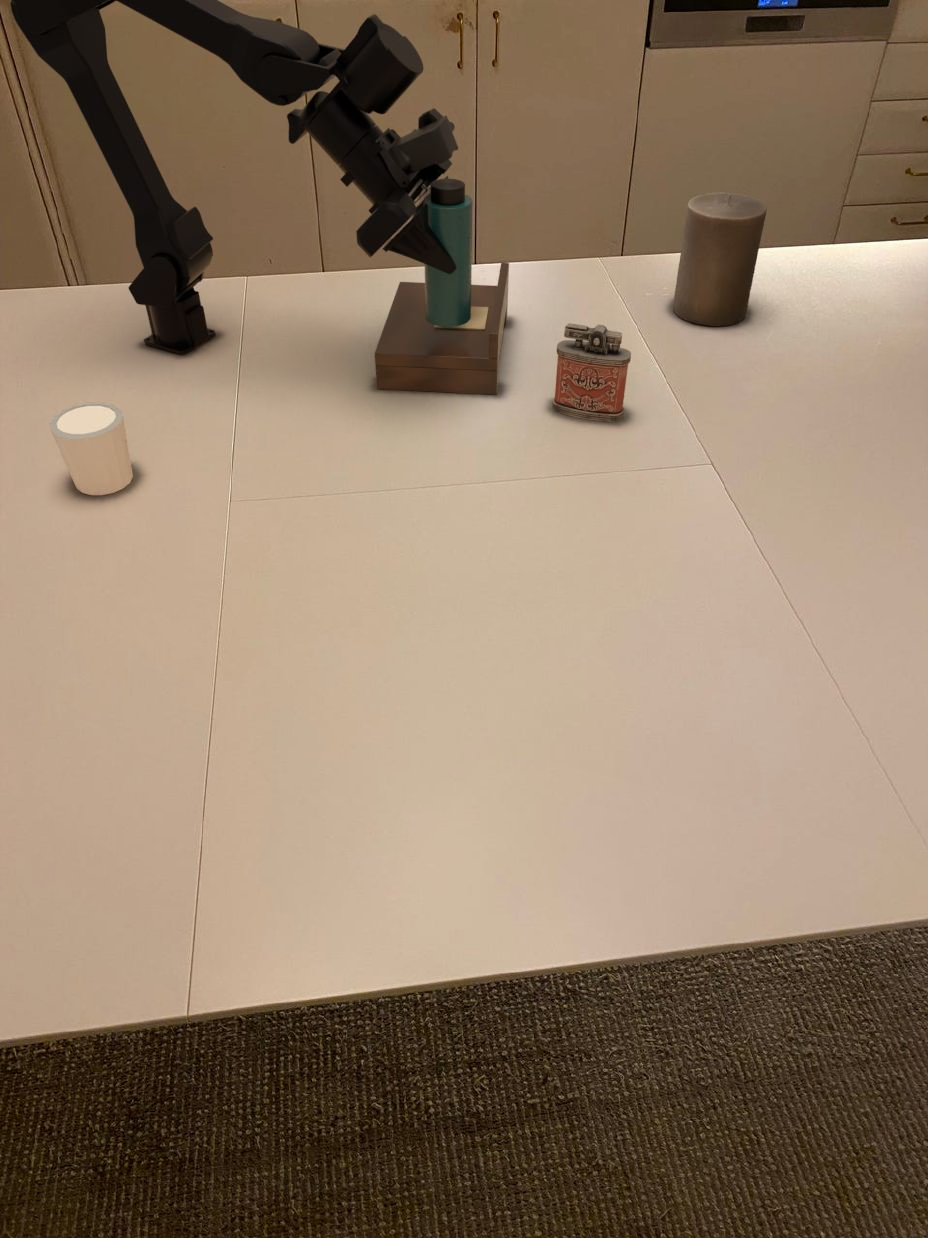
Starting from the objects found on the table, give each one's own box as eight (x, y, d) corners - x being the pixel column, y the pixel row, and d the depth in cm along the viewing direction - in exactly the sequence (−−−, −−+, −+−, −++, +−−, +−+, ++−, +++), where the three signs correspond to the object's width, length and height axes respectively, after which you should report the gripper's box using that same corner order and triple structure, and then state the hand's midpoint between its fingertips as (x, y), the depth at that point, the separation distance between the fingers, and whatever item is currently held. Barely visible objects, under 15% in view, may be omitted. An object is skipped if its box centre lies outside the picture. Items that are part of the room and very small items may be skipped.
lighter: (626, 410, 107) (637, 325, 101) (619, 424, 105) (630, 339, 98) (556, 398, 109) (563, 315, 102) (549, 412, 107) (555, 328, 100)
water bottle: (434, 330, 107) (432, 194, 97) (419, 311, 110) (416, 178, 101) (477, 323, 108) (480, 189, 98) (461, 304, 112) (462, 173, 102)
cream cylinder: (120, 502, 94) (102, 441, 89) (56, 494, 95) (34, 433, 90) (150, 465, 99) (135, 404, 94) (89, 457, 100) (71, 397, 95)
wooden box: (376, 388, 111) (372, 327, 106) (401, 314, 125) (398, 258, 120) (496, 394, 110) (498, 333, 105) (507, 319, 125) (509, 262, 119)
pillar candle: (758, 322, 124) (784, 203, 114) (688, 330, 122) (709, 210, 112) (726, 292, 131) (748, 177, 121) (660, 299, 129) (676, 183, 119)
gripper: (380, 113, 87) (494, 245, 93) (432, 66, 101) (529, 184, 107) (308, 195, 94) (418, 313, 100) (366, 140, 108) (460, 247, 113)
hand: (459, 261), depth 105 cm, fingers closed on water bottle, 5 cm apart
